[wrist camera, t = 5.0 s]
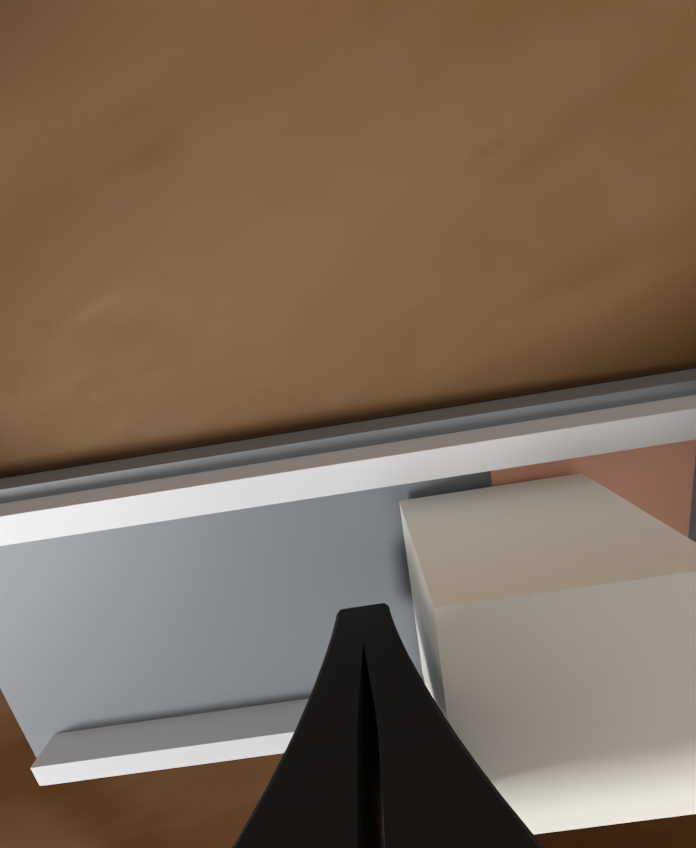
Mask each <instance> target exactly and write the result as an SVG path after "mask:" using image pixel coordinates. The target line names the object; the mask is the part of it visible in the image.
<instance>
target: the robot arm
mask: <svg viewBox="0 0 696 848" xmlns="http://www.w3.org/2000/svg"><path fill="white" fill-rule="evenodd" d="M382 799H383V800H382ZM383 814H384V830H385V846H386V848H544V847H543V846H542V844H541V843H540V842H539V841H538V839H537V838H536V837H535V836H534V835H533V833H532V832H531V831H530V830H529V828H528V827H527V826H526V825H525V823H524V822H523V821H522V820H521V819H520V817H519V816H518V815H517V814H516V812H515V811H514V810H513V809H512V808H511V806H510V805H509V804H508V803H507V801H506V800H505V799H504V798H503V796H502V795H501V794H500V793H499V791H498V790H497V789H496V788H495V786H494V785H493V784H492V782H491V781H490V780H489V778H488V777H487V776H486V774H485V773H484V772H483V770H482V769H481V768H480V766H479V765H478V764H477V762H476V761H475V759H474V758H473V757H472V755H471V754H470V752H469V751H468V750H467V748H466V747H465V745H464V744H463V743H462V741H461V740H460V738H459V737H458V735H457V734H456V733H455V731H454V730H453V728H452V727H451V725H450V724H449V722H448V721H447V719H446V718H445V716H444V714H443V713H442V711H441V710H440V708H439V707H438V705H437V703H436V702H435V700H434V699H433V697H432V695H431V694H430V692H429V690H428V689H427V687H426V685H425V684H424V682H423V680H422V678H421V677H420V675H419V673H418V671H417V669H416V668H415V666H414V664H413V662H412V660H411V658H410V657H409V655H408V653H407V651H406V649H405V647H404V645H403V642H402V640H401V638H400V636H399V634H398V631H397V629H396V627H395V624H394V621H393V619H392V615H391V612H390V608H389V606H388V605H387V604H385V603H380V604H373V605H366V606H360V607H353V608H346V609H340V611H339V612H338V613H337V615H336V620H335V624H334V628H333V632H332V636H331V639H330V642H329V645H328V648H327V651H326V654H325V658H324V660H323V663H322V666H321V668H320V671H319V674H318V677H317V679H316V682H315V685H314V687H313V690H312V692H311V695H310V697H309V699H308V702H307V704H306V706H305V709H304V711H303V713H302V716H301V718H300V720H299V723H298V725H297V727H296V730H295V732H294V734H293V736H292V738H291V740H290V742H289V744H288V747H287V749H286V751H285V753H284V755H283V757H282V759H281V761H280V763H279V765H278V767H277V769H276V771H275V773H274V774H273V776H272V778H271V780H270V782H269V784H268V786H267V788H266V790H265V792H264V793H263V795H262V797H261V799H260V800H259V802H258V804H257V806H256V808H255V809H254V811H253V813H252V815H251V817H250V818H249V820H248V822H247V824H246V826H245V827H244V829H243V831H242V832H241V834H240V836H239V838H238V839H237V841H236V843H235V844H234V846H233V848H384V836H383Z"/></svg>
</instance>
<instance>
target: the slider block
mask: <svg viewBox="0 0 696 848" xmlns="http://www.w3.org/2000/svg"><path fill="white" fill-rule="evenodd" d="M399 504H400V511H401V519H402V526H403V533H404V541H405V548H406V555H407V563H408V570H409V578H410V585H411V592H412V600H413V607H414V614H415V622H416V629H417V636H418V644H419V651H420V658H421V666H422V673H423V677H424V681H425V685H426V687H427V689H428V690H429V692H430V694H431V695H432V697H433V699H434V700H435V702H436V703H437V705H438V707H439V708H440V710H441V711H442V713H443V714H444V716H445V718H446V719H447V721H448V722H449V724H450V725H451V727H452V728H453V730H454V731H455V733H456V734H457V735H458V737H459V738H460V740H461V741H462V743H463V744H464V745H465V747H466V748H467V750H468V751H469V752H470V754H471V755H472V757H473V758H474V759H475V761H476V762H477V764H478V765H479V766H480V768H481V769H482V770H483V772H484V773H485V774H486V776H487V777H488V778H489V780H490V781H491V782H492V784H493V785H494V786H495V788H496V789H497V790H498V791H499V793H500V794H501V795H502V796H503V798H504V799H505V800H506V801H507V803H508V804H509V805H510V806H511V808H512V809H513V810H514V811H515V812H516V814H517V815H518V816H519V817H520V819H521V820H522V821H523V822H524V823H525V825H526V826H527V827H528V828H529V830H530V831H531V832H532V833H533V835H534V834H542V833H550V832H558V831H565V830H573V829H581V828H589V827H597V826H605V825H613V824H621V823H628V822H636V821H644V820H652V819H660V818H668V817H676V816H683V815H691V814H696V542H694V541H692V540H691V539H689V538H688V537H686V536H684V535H683V534H681V533H679V532H678V531H676V530H674V529H673V528H671V527H670V526H668V525H666V524H665V523H663V522H661V521H660V520H658V519H656V518H655V517H653V516H652V515H650V514H648V513H647V512H645V511H643V510H642V509H640V508H638V507H637V506H635V505H633V504H632V503H630V502H629V501H627V500H625V499H624V498H622V497H620V496H619V495H617V494H615V493H614V492H612V491H611V490H609V489H607V488H606V487H604V486H602V485H601V484H599V483H597V482H596V481H594V480H593V479H591V478H589V477H588V476H586V475H584V474H583V473H578V474H572V475H565V476H559V477H552V478H546V479H539V480H532V481H526V482H519V483H513V484H506V485H500V486H493V487H487V488H480V489H473V490H467V491H460V492H454V493H447V494H441V495H434V496H427V497H421V498H414V499H408V500H401V501H399Z"/></svg>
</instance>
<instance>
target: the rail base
mask: <svg viewBox="0 0 696 848" xmlns="http://www.w3.org/2000/svg"><path fill="white" fill-rule="evenodd" d="M578 473H583V474H584V475H586V476H588V477H589V478H591V479H593V480H594V481H596V482H597V483H599V484H601V485H602V486H604V487H606V488H607V489H609V490H611V491H612V492H614V493H615V494H617V495H619V496H620V497H622V498H624V499H625V500H627V501H629V502H630V503H632V504H633V505H635V506H637V507H638V508H640V509H642V510H643V511H645V512H647V513H648V514H650V515H652V516H653V517H655V518H656V519H658V520H660V521H661V522H663V523H665V524H666V525H668V526H670V527H671V528H673V529H674V530H676V531H678V532H679V533H681V534H683V535H684V536H686V537H688V538H689V539H691V540H692V541H694V542H696V368H695V369H689V370H683V371H677V372H670V373H664V374H658V375H651V376H645V377H639V378H632V379H626V380H620V381H613V382H607V383H601V384H594V385H588V386H582V387H576V388H569V389H563V390H557V391H550V392H544V393H538V394H531V395H525V396H519V397H512V398H506V399H500V400H493V401H487V402H481V403H475V404H468V405H462V406H456V407H449V408H443V409H437V410H430V411H424V412H418V413H411V414H405V415H399V416H393V417H386V418H380V419H374V420H367V421H361V422H355V423H348V424H342V425H336V426H329V427H323V428H317V429H310V430H304V431H298V432H292V433H285V434H279V435H273V436H266V437H260V438H254V439H247V440H241V441H235V442H228V443H222V444H216V445H209V446H203V447H197V448H191V449H184V450H178V451H172V452H165V453H159V454H153V455H146V456H140V457H134V458H127V459H121V460H115V461H108V462H102V463H96V464H90V465H83V466H77V467H71V468H64V469H58V470H52V471H45V472H39V473H33V474H26V475H20V476H14V477H8V478H1V479H0V688H1V690H2V692H3V694H4V696H5V698H6V700H7V702H8V704H9V706H10V708H11V710H12V712H13V713H14V715H15V717H16V719H17V721H18V723H19V725H20V727H21V729H22V731H23V733H24V735H25V737H26V739H27V741H28V742H29V744H30V746H31V748H32V750H33V752H34V754H35V756H36V758H37V759H36V761H35V762H34V764H33V765H32V766H31V770H32V772H33V774H34V776H35V778H36V780H37V782H38V784H39V785H40V786H44V785H51V784H59V783H66V782H73V781H81V780H88V779H95V778H103V777H110V776H118V775H125V774H132V773H140V772H147V771H155V770H162V769H169V768H177V767H184V766H192V765H199V764H206V763H214V762H221V761H228V760H236V759H243V758H251V757H258V756H265V755H273V754H280V753H285V751H286V749H287V747H288V744H289V742H290V740H291V738H292V736H293V734H294V732H295V730H296V727H297V725H298V723H299V720H300V718H301V716H302V713H303V711H304V709H305V706H306V704H307V702H308V699H309V697H310V695H311V692H312V690H313V687H314V685H315V682H316V679H317V677H318V674H319V671H320V668H321V666H322V663H323V660H324V658H325V654H326V651H327V648H328V645H329V642H330V639H331V636H332V632H333V628H334V624H335V620H336V615H337V613H338V612H339V611H340V609H346V608H353V607H360V606H366V605H373V604H380V603H385V604H387V605H388V606H389V608H390V612H391V615H392V619H393V621H394V624H395V627H396V629H397V631H398V634H399V636H400V638H401V640H402V642H403V645H404V647H405V649H406V651H407V653H408V655H409V657H410V658H411V660H412V662H413V664H414V666H415V668H416V669H417V671H418V673H419V675H420V677H421V678H422V680H423V682H424V684H425V681H424V677H423V673H422V666H421V658H420V651H419V644H418V636H417V629H416V622H415V614H414V607H413V600H412V592H411V585H410V578H409V570H408V563H407V555H406V548H405V541H404V533H403V526H402V519H401V511H400V504H399V501H401V500H408V499H414V498H421V497H427V496H434V495H441V494H447V493H454V492H460V491H467V490H473V489H480V488H487V487H493V486H500V485H506V484H513V483H519V482H526V481H532V480H539V479H546V478H552V477H559V476H565V475H572V474H578Z"/></svg>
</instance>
